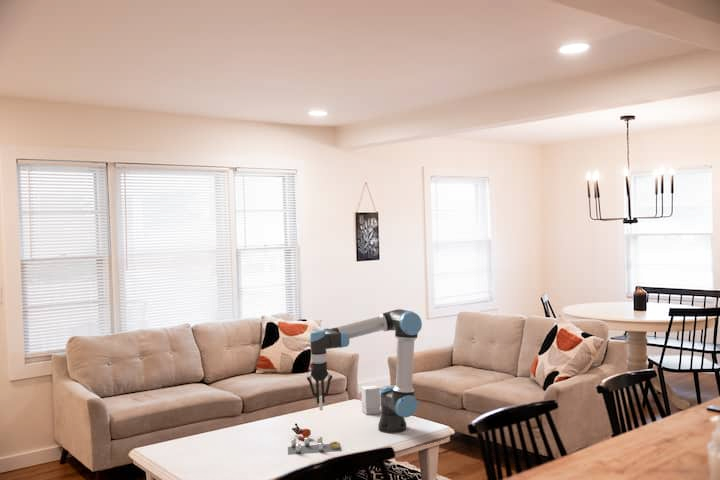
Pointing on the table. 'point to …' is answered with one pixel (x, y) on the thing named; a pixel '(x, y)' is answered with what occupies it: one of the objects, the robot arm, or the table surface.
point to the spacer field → (306, 444)
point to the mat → (313, 449)
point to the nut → (334, 445)
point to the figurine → (301, 432)
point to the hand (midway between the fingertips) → (320, 409)
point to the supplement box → (370, 399)
